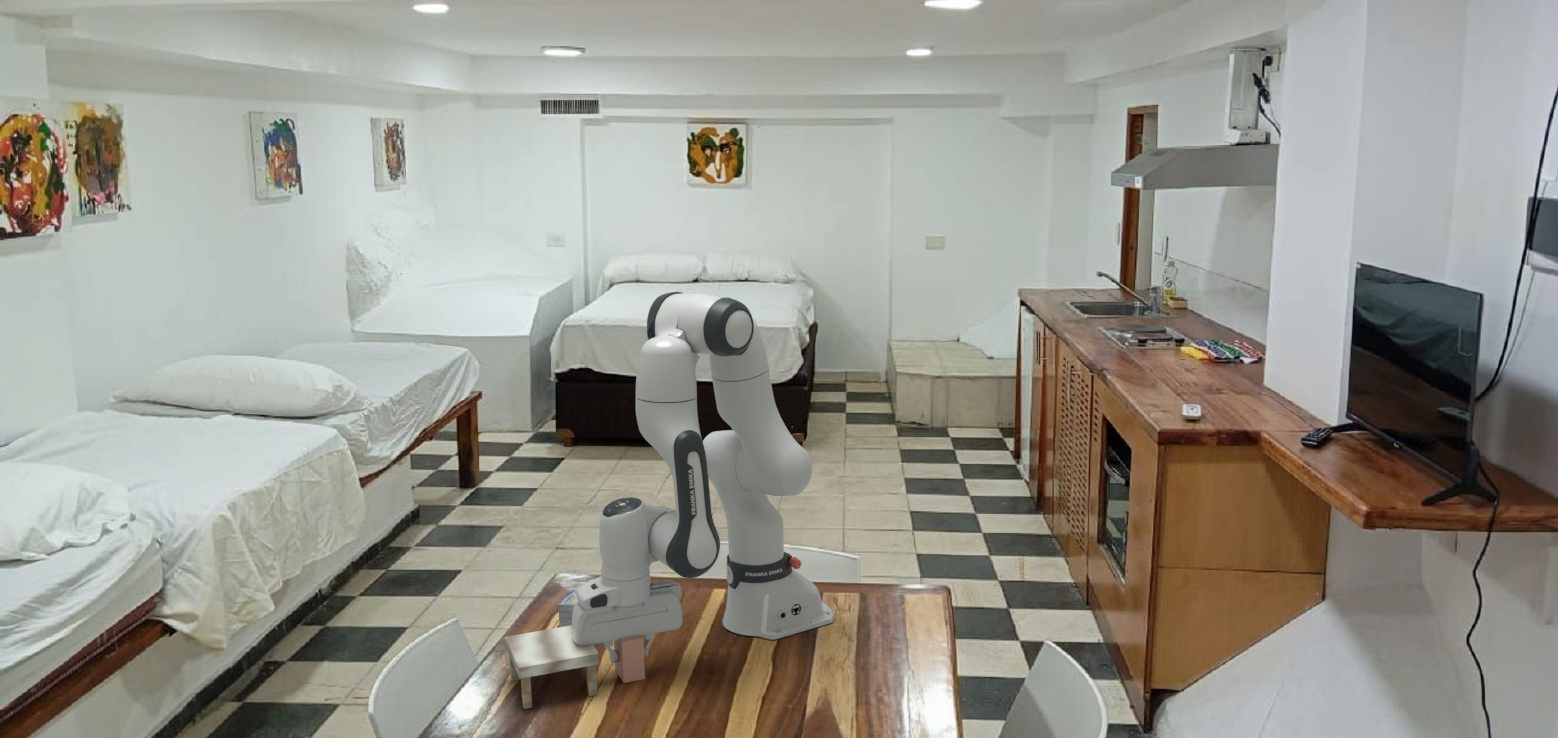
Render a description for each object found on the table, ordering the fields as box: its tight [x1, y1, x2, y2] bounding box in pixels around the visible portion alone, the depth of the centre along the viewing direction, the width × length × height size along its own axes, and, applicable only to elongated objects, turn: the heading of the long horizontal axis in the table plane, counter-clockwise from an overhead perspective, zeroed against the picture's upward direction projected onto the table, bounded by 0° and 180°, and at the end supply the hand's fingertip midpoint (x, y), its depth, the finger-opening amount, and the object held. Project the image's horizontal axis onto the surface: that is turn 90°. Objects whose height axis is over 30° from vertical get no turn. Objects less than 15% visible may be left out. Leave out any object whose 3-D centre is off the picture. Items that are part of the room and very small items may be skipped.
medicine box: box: [557, 588, 578, 627], centre depth 239 cm, size 8×4×9 cm, turn 168°
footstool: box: [504, 625, 600, 710], centre depth 218 cm, size 14×14×8 cm
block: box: [613, 635, 646, 684], centre depth 223 cm, size 4×6×8 cm, turn 22°
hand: (629, 658), depth 223 cm, fingers closed on block, 4 cm apart
